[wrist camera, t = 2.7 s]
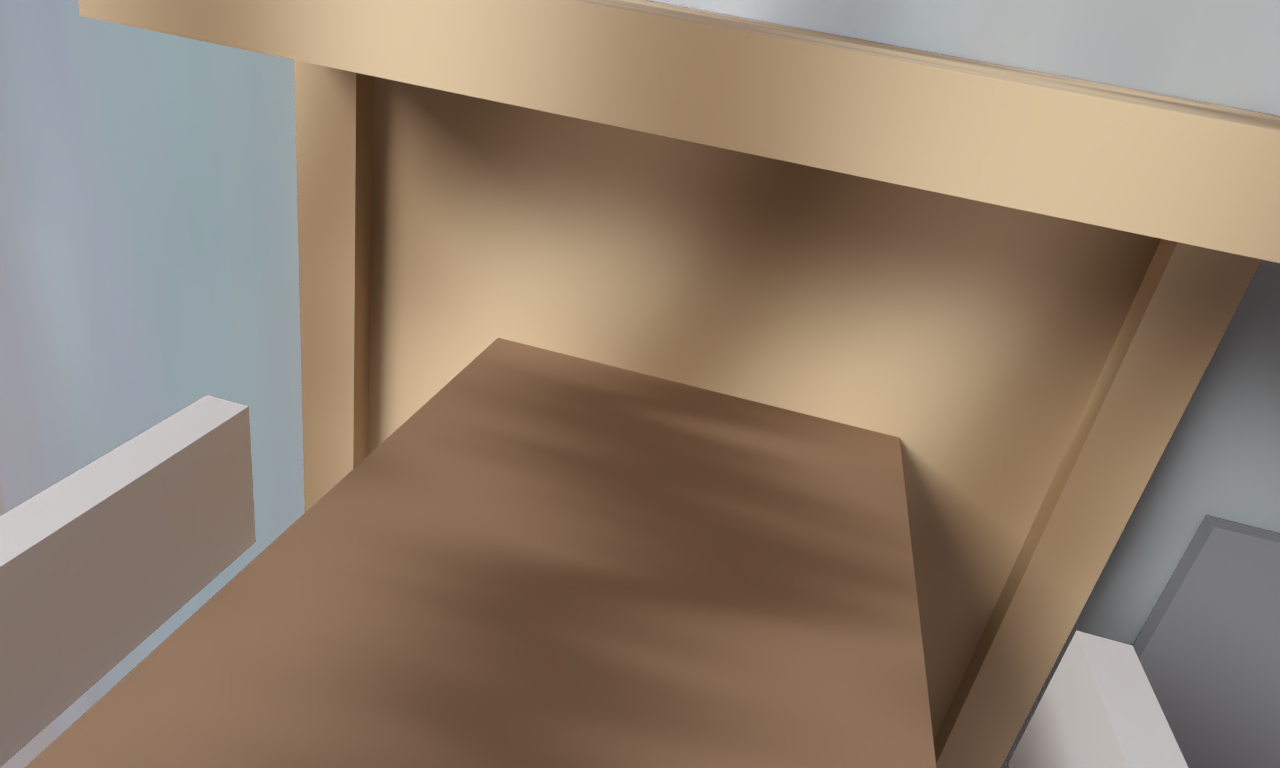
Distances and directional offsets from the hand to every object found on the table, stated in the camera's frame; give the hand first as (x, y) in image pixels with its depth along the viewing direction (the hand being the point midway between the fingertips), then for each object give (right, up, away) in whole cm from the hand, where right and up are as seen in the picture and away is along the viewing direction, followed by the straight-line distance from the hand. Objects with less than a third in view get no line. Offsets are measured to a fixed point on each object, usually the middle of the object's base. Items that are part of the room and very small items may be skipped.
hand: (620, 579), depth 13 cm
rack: (+1, +2, +4) cm, 5 cm away
